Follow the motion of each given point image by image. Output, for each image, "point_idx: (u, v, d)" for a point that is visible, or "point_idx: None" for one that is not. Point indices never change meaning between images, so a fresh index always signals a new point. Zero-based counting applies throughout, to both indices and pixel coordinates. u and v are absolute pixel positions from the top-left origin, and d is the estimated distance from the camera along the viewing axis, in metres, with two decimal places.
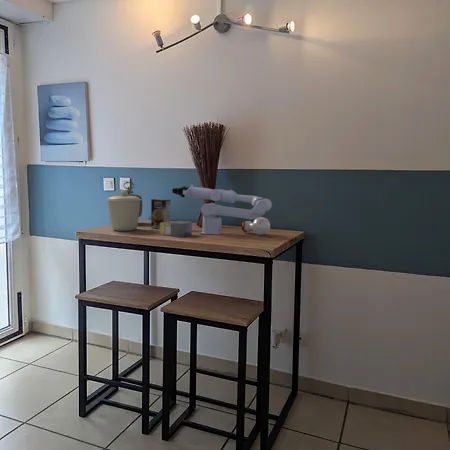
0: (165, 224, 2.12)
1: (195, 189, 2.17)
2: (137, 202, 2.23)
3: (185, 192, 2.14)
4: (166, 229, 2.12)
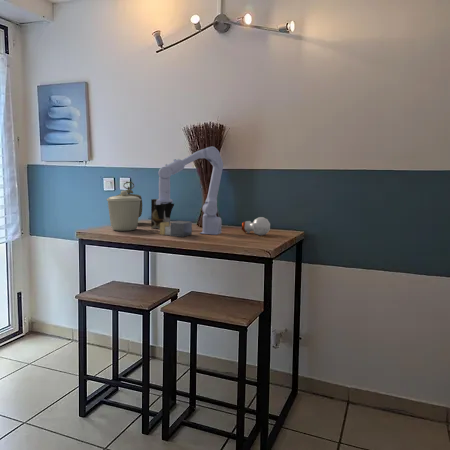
0: (165, 224, 2.12)
1: (159, 194, 2.11)
2: (137, 202, 2.23)
3: (157, 201, 2.06)
4: (166, 229, 2.12)
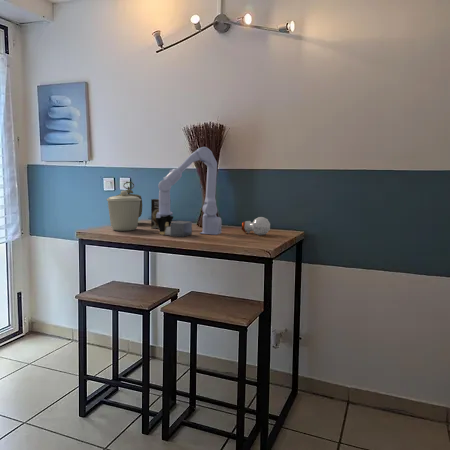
0: (165, 224, 2.12)
1: (159, 207, 2.12)
2: (137, 202, 2.23)
3: (157, 215, 2.07)
4: (166, 229, 2.12)
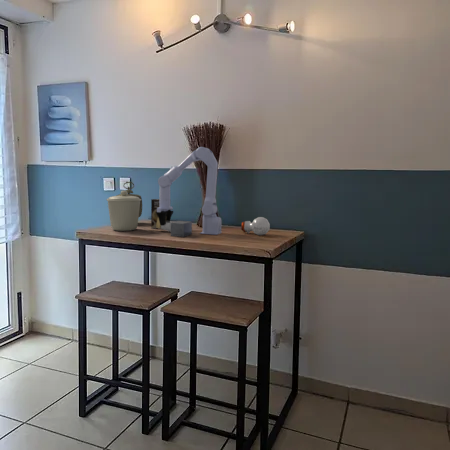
0: None
1: (159, 202, 2.21)
2: (137, 202, 2.23)
3: (158, 209, 2.16)
4: None
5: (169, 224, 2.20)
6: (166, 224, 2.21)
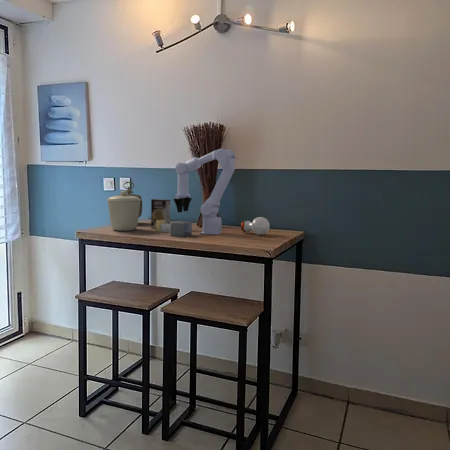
0: (161, 221, 2.23)
1: (178, 189, 2.23)
2: (137, 202, 2.23)
3: (177, 196, 2.18)
4: (161, 226, 2.22)
5: (168, 225, 2.21)
6: (165, 226, 2.21)
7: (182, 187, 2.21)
